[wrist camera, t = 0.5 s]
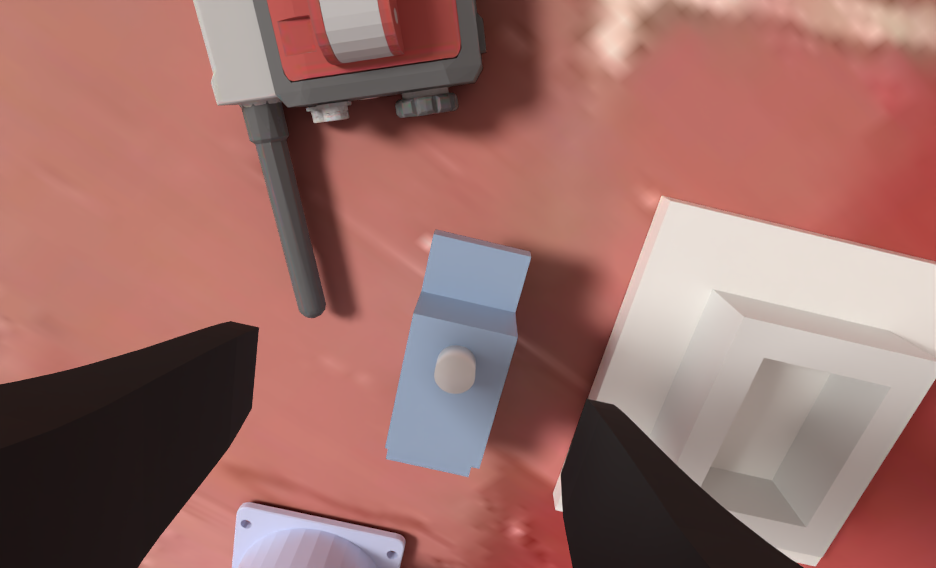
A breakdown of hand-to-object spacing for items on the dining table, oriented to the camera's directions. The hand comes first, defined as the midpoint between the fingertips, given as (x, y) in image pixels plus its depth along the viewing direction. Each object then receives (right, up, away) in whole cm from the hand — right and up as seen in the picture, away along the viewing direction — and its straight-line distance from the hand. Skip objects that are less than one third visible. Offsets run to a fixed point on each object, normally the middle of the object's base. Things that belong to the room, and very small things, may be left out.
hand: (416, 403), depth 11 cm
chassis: (+12, -2, +10) cm, 16 cm away
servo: (+1, +1, +10) cm, 10 cm away
